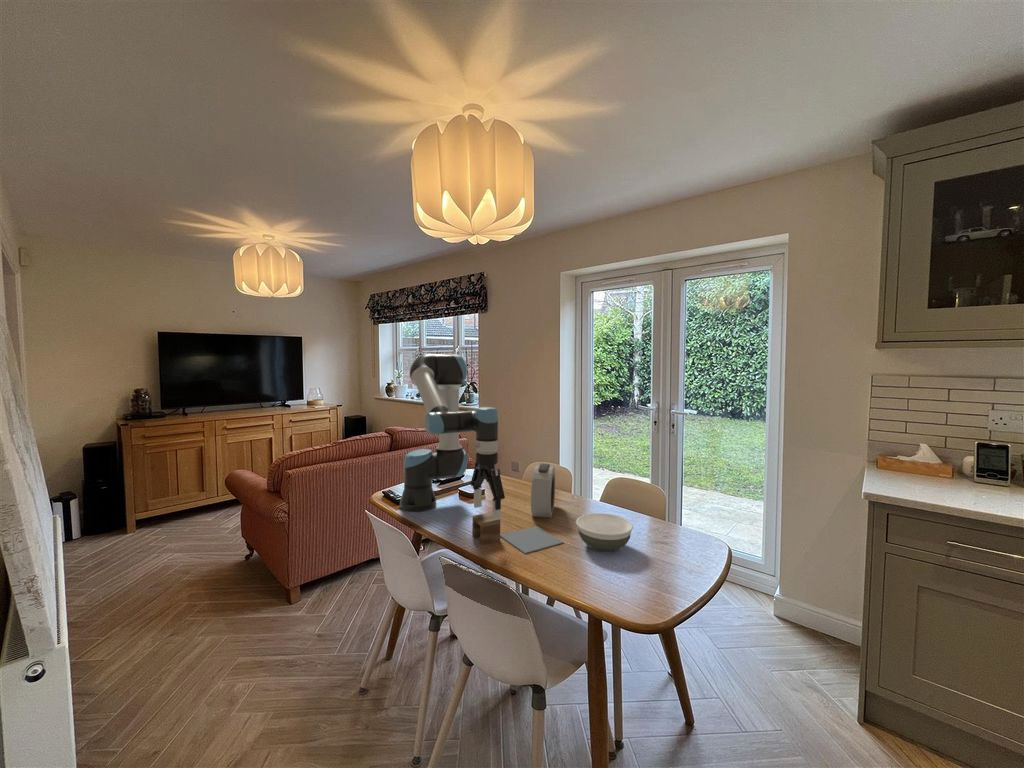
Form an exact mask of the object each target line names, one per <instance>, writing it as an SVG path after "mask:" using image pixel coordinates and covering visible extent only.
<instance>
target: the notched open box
mask: <svg viewBox="0 0 1024 768" xmlns="http://www.w3.org/2000/svg"><path fill="white" fill-rule="evenodd" d="M471 520H472V523H471V524H472V525H471V526H472V528H471V529H472V530H471V531H472V532H471V534H472V535H471V537H472V538H473V537H474V539H477V538H479V539H480V544H481V545H486V543H487V544H491V543H495V542H499V541H501V537H500V535H501V518H498V519H493V512H492V513H491V512H486V513H485V512H484V513H480V514H476V515H472V519H471Z"/></svg>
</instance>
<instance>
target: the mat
mask: <svg viewBox="0 0 1024 768" xmlns="http://www.w3.org/2000/svg"><path fill="white" fill-rule="evenodd" d="M500 538H502V539H503V540H504V541H505V542H507V543H508V544H510V545H512V546H513V547H514V548H515V549H516V550H518V551H519V552H521V553H523V554H524V555H526V554H531V553H534V552H537V551H541V550H544V549H548V548H552V547H555V546H559V545H562V544H564V541H563V540H561V539H560V538H558V537H556V536H554V535H552V534H550V533H549V532H547V531H546V530H544V529H542V528H541V527H539V526H532V527H528V528H525V529H520V530H516V531H512V532H508V533H503V534H500Z"/></svg>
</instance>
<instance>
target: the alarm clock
mask: <svg viewBox="0 0 1024 768" xmlns="http://www.w3.org/2000/svg"><path fill="white" fill-rule="evenodd" d="M530 492H531V493H530V511H531V516H532V518H543V519H551V518H552V516H553V512H554V508H555V503H556V502H555V501H556V469H555V466H551V465H550V464H549V463H540V464H539V465H535V467H534V468H533V472H532V479H531V491H530Z"/></svg>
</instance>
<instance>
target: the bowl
mask: <svg viewBox="0 0 1024 768" xmlns="http://www.w3.org/2000/svg"><path fill="white" fill-rule="evenodd" d="M575 523H576V525H577V529H578V535H579V537H580V539H581V540H582V542H584V543H585V544H586V545H587V546H589V547H591V548H592V550H595V551H596V552H599V553H613V552H616V550H619V549H622V548H623V547H624V546H626V545H627V544H628V542H629V540H630V539H631V534H632V531H633V529H634V526H633V523H632V522H631V521H630V520H628V519H627V518H624V517H622V516H620V515H616V514H611V513H602V512H601V513H598V512H597V513H595V512H594V513H586V514H584V515H581V516H579V517H578V518H577V519H576V521H575Z"/></svg>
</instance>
